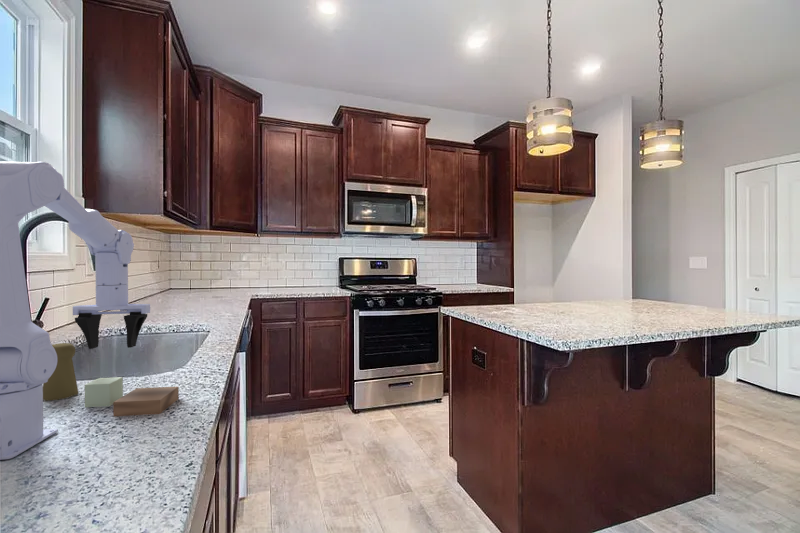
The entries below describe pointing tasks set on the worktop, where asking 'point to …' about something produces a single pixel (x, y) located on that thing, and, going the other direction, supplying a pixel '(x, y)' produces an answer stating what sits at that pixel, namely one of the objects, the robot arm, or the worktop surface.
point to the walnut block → (146, 401)
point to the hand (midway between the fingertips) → (112, 347)
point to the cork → (62, 375)
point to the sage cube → (103, 391)
